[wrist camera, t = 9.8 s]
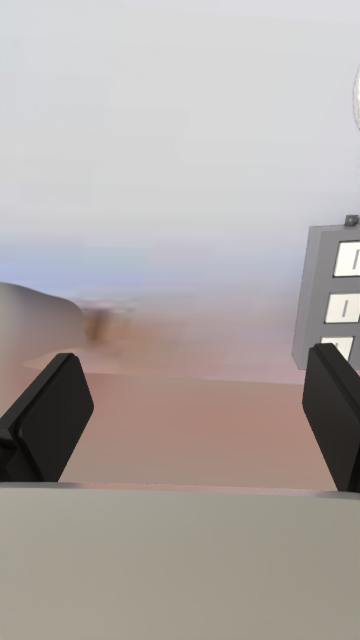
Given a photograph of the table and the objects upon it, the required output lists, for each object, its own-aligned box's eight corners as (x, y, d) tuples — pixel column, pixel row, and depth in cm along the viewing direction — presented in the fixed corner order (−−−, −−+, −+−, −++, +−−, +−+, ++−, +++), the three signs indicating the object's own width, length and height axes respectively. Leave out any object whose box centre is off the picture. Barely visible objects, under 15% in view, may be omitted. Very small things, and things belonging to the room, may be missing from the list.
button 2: (332, 239, 34) (341, 243, 32) (366, 237, 33) (378, 241, 31) (327, 270, 36) (335, 276, 33) (359, 269, 35) (369, 274, 33)
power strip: (310, 216, 34) (323, 220, 31) (386, 212, 33) (407, 215, 30) (291, 354, 44) (299, 369, 40) (350, 354, 43) (363, 369, 39)
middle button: (324, 288, 37) (331, 295, 34) (355, 287, 36) (365, 294, 34) (319, 314, 38) (326, 322, 36) (348, 313, 38) (357, 322, 36)
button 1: (316, 329, 40) (323, 338, 37) (344, 329, 39) (353, 337, 37) (312, 352, 41) (318, 361, 39) (339, 352, 41) (347, 361, 39)
